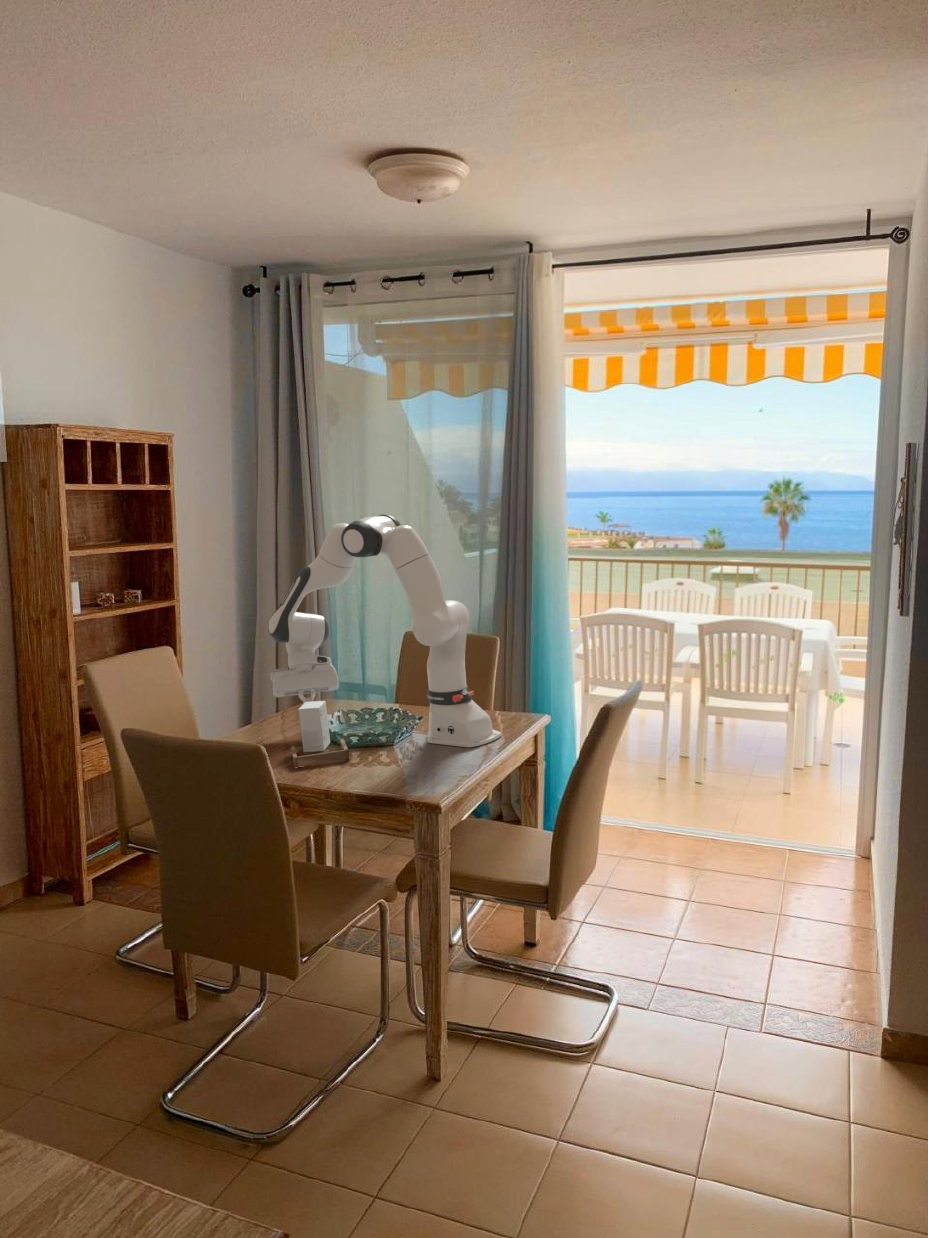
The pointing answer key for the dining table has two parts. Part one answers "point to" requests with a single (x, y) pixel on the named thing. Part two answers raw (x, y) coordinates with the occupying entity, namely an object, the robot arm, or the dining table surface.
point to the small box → (314, 726)
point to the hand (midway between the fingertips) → (308, 704)
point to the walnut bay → (321, 756)
